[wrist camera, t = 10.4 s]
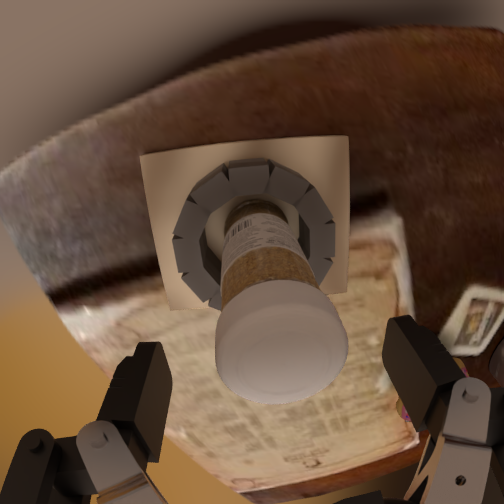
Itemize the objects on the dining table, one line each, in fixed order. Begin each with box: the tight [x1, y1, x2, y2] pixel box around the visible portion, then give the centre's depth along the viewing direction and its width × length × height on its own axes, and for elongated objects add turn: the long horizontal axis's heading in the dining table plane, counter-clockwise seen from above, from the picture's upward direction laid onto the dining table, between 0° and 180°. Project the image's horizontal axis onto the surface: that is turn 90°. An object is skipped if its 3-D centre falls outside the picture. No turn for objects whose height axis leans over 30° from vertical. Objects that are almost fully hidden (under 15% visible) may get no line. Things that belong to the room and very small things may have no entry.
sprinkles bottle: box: [215, 199, 348, 404], centre depth 16 cm, size 5×5×14 cm
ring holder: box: [140, 135, 350, 311], centre depth 21 cm, size 14×12×5 cm
